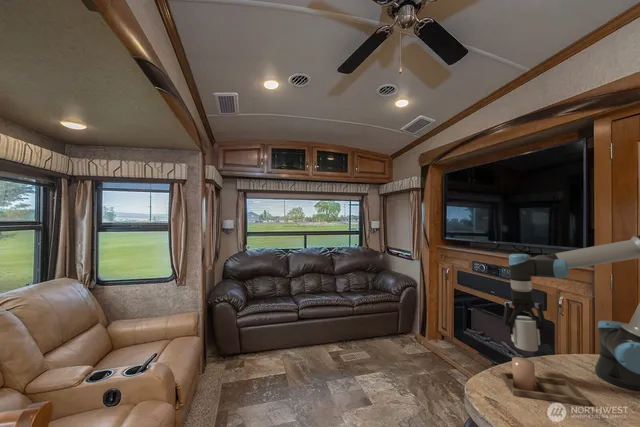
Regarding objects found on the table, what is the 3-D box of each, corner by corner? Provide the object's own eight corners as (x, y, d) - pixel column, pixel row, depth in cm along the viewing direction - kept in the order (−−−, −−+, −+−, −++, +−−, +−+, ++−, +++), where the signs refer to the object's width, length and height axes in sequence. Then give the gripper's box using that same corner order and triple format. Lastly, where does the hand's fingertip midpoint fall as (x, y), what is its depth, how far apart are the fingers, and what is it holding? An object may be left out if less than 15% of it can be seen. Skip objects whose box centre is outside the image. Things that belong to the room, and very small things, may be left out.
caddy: (566, 385, 106) (566, 379, 107) (589, 407, 94) (588, 400, 94) (500, 377, 113) (500, 371, 113) (513, 396, 100) (513, 390, 101)
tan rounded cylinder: (530, 383, 107) (529, 358, 108) (539, 394, 101) (537, 367, 101) (510, 381, 109) (509, 356, 110) (517, 391, 103) (516, 364, 103)
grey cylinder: (542, 351, 111) (540, 322, 112) (520, 350, 113) (518, 321, 113) (531, 343, 119) (529, 316, 120) (510, 342, 121) (508, 315, 121)
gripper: (545, 288, 118) (549, 340, 117) (491, 287, 124) (495, 337, 123) (555, 292, 111) (559, 348, 109) (497, 291, 117) (501, 344, 115)
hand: (525, 342), depth 116 cm, fingers closed on grey cylinder, 8 cm apart
